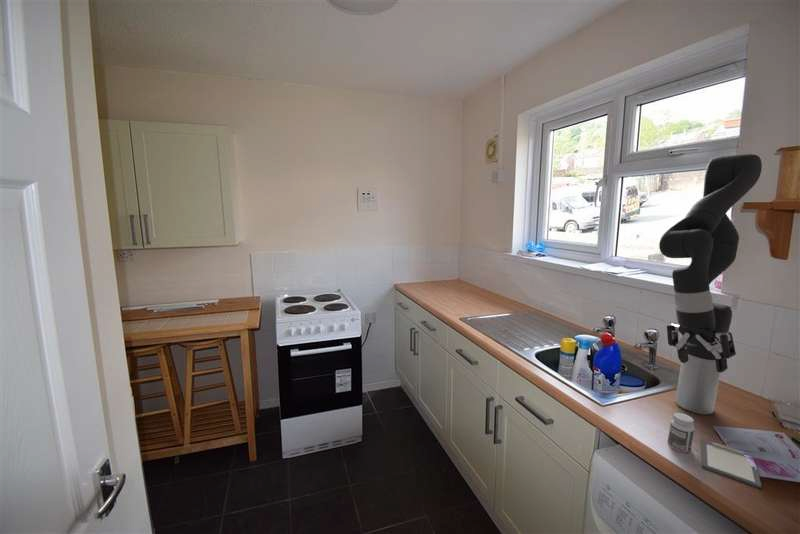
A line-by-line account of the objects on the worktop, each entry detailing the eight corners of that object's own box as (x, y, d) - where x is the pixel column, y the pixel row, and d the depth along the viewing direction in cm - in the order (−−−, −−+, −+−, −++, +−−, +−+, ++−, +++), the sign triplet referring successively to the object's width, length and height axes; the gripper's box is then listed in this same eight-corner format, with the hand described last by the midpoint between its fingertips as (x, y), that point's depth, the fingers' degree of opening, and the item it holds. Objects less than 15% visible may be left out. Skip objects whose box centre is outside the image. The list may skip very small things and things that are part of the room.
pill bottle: (680, 440, 95) (685, 411, 93) (695, 452, 90) (700, 422, 88) (662, 440, 94) (667, 411, 93) (677, 452, 90) (682, 422, 88)
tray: (701, 442, 94) (701, 437, 94) (753, 459, 88) (754, 454, 88) (702, 467, 85) (702, 462, 85) (761, 488, 79) (762, 483, 78)
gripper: (737, 306, 86) (744, 370, 88) (674, 299, 99) (682, 354, 101) (716, 315, 84) (725, 380, 85) (655, 307, 97) (664, 363, 99)
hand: (702, 366), depth 93 cm, fingers open, 8 cm apart
